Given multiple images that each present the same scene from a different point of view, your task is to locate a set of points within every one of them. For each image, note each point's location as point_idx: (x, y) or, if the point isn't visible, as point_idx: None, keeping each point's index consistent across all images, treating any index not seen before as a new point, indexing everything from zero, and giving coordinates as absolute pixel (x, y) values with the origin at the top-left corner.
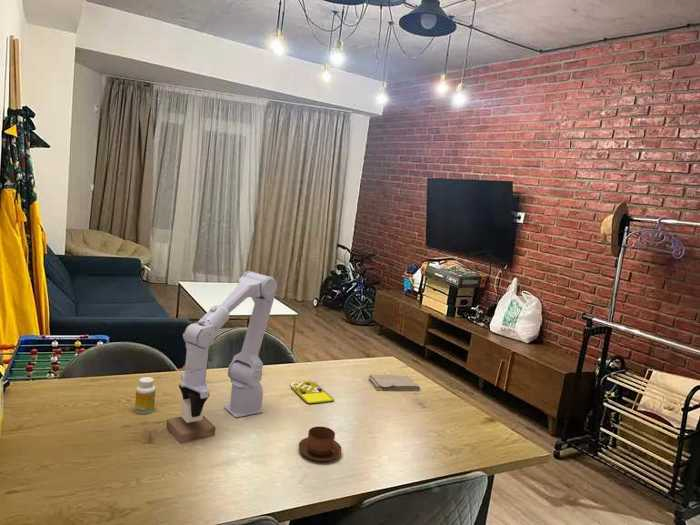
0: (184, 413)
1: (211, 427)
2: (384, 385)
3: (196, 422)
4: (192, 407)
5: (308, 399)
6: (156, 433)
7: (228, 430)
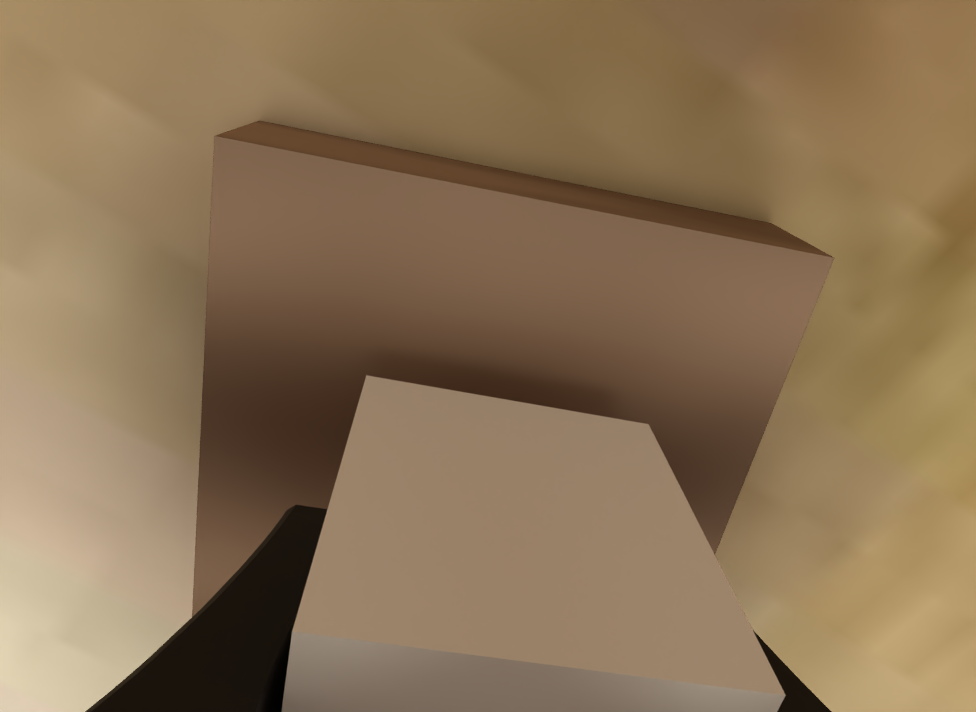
0: (520, 465)
1: (206, 599)
2: None
3: None
4: (146, 663)
5: None
6: (733, 5)
7: None
